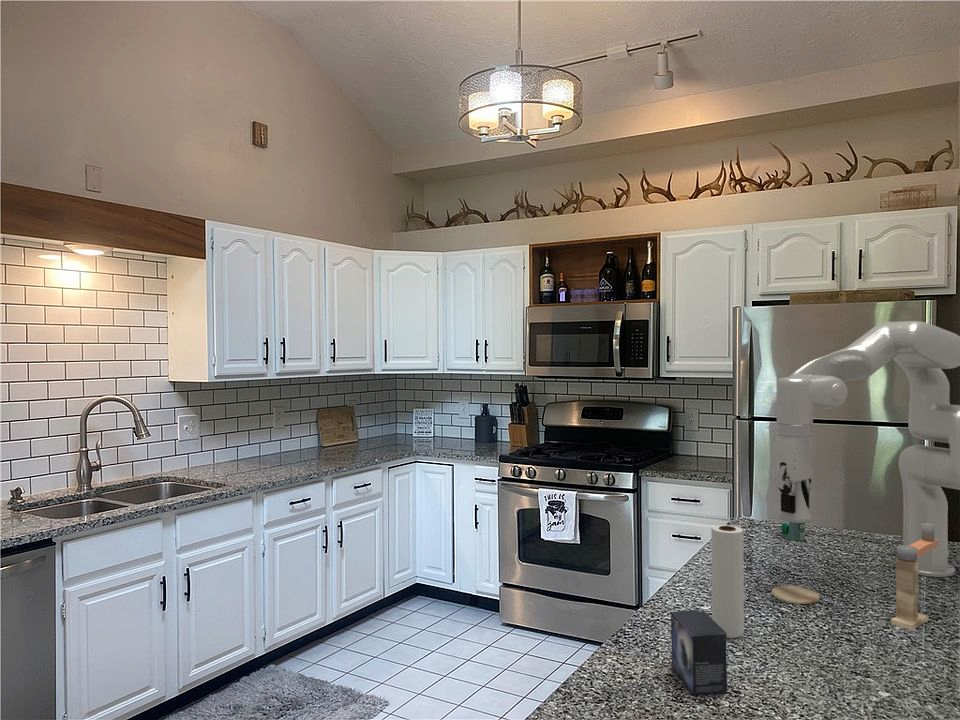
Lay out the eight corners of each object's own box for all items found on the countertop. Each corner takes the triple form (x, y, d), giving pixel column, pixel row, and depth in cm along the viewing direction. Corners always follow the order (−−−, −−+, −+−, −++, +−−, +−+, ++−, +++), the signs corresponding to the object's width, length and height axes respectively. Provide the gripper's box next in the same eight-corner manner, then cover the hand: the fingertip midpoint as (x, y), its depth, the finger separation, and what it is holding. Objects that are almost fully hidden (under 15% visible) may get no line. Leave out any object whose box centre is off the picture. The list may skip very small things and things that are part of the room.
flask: (816, 524, 156) (816, 480, 156) (781, 523, 158) (781, 479, 157) (808, 516, 163) (807, 474, 163) (775, 515, 165) (774, 473, 165)
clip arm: (940, 546, 153) (940, 524, 153) (913, 562, 143) (913, 537, 143) (922, 543, 156) (922, 521, 156) (894, 558, 146) (894, 534, 146)
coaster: (786, 585, 168) (786, 582, 168) (827, 597, 160) (827, 594, 160) (763, 595, 162) (763, 592, 162) (805, 608, 154) (805, 604, 154)
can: (784, 534, 212) (784, 485, 212) (806, 537, 209) (806, 487, 208) (780, 539, 207) (779, 488, 207) (802, 542, 204) (802, 491, 203)
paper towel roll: (728, 641, 137) (728, 533, 137) (705, 630, 143) (704, 526, 142) (754, 634, 141) (754, 528, 140) (731, 623, 146) (730, 521, 146)
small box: (668, 667, 127) (668, 610, 127) (703, 665, 128) (703, 608, 127) (691, 696, 117) (690, 634, 116) (729, 694, 117) (728, 632, 117)
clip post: (907, 614, 149) (907, 554, 149) (928, 620, 146) (928, 558, 146) (890, 624, 145) (890, 561, 144) (912, 630, 141) (912, 566, 141)
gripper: (798, 426, 168) (798, 501, 169) (758, 433, 158) (759, 513, 158) (829, 429, 162) (829, 507, 163) (790, 436, 152) (791, 519, 152)
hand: (795, 509), depth 160 cm, fingers closed on flask, 5 cm apart
